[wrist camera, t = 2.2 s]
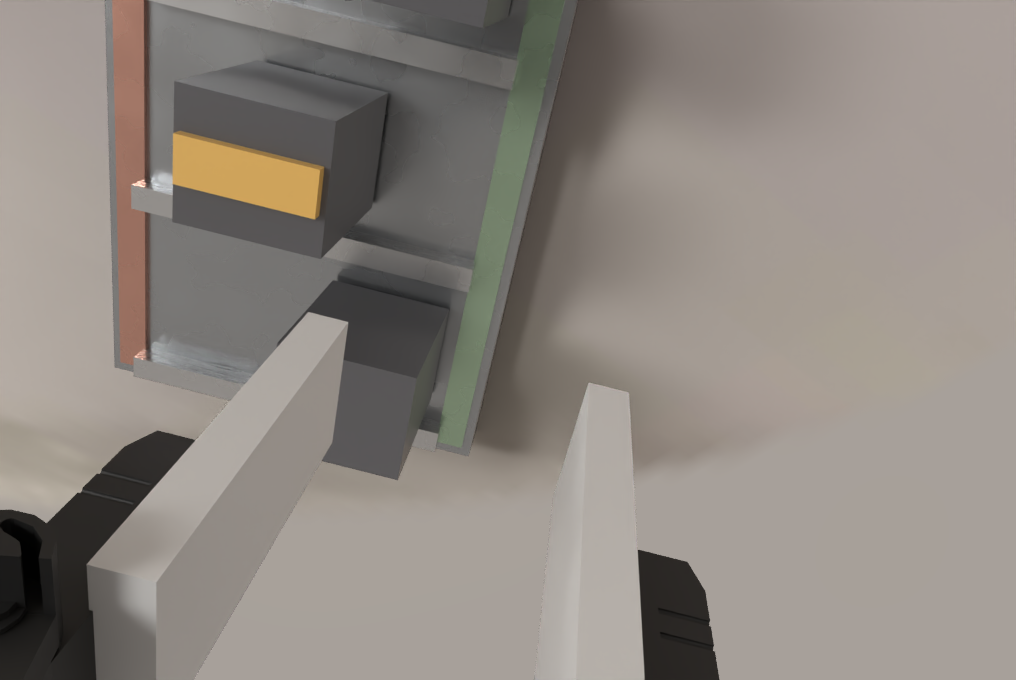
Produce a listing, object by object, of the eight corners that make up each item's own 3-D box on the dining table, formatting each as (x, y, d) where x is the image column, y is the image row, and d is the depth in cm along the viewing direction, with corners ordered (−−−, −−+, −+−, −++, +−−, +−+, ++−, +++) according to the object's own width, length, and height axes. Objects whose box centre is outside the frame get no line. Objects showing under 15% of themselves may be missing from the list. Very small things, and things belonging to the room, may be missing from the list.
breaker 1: (250, 177, 30) (165, 225, 24) (257, 60, 28) (166, 82, 22) (371, 207, 30) (316, 263, 24) (387, 92, 28) (331, 123, 22)
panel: (138, 347, 37) (101, 377, 34) (132, -324, 25) (75, -359, 22) (475, 432, 37) (464, 468, 34) (627, -203, 25) (629, -224, 22)
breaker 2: (322, 371, 33) (267, 447, 28) (333, 279, 31) (277, 343, 26) (431, 398, 33) (397, 480, 28) (449, 309, 31) (416, 378, 26)
